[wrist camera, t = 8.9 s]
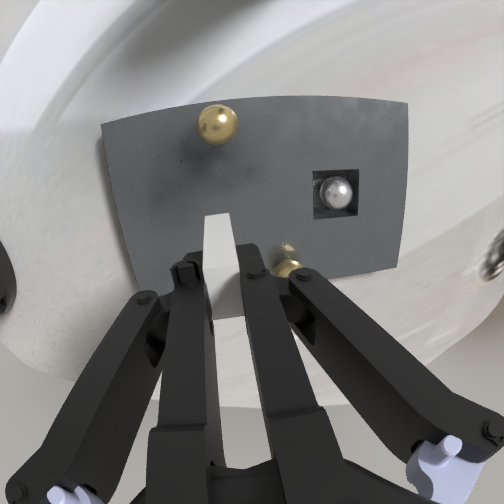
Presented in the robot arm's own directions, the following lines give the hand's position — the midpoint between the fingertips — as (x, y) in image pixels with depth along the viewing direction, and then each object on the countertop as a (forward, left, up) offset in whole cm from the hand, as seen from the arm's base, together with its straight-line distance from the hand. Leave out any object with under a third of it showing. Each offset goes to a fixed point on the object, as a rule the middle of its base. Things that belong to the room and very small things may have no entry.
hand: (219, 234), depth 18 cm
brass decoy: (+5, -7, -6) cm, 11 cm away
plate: (+4, 0, -10) cm, 11 cm away
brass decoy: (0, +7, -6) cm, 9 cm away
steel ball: (+11, 0, -8) cm, 13 cm away
